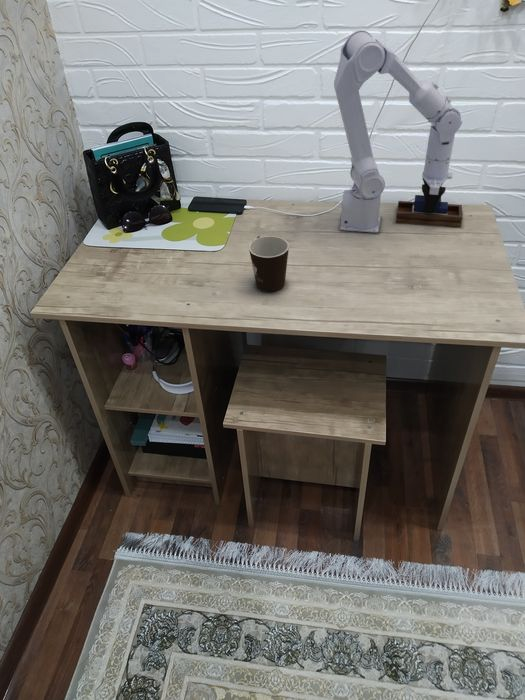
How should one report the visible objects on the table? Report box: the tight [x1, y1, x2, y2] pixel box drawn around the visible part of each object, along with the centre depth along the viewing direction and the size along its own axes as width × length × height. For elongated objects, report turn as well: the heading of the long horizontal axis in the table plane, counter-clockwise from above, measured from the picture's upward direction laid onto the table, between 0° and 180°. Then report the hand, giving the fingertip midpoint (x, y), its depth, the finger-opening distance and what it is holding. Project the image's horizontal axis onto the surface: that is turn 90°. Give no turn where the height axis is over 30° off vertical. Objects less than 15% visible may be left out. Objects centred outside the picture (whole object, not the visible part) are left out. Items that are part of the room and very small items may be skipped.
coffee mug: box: [248, 235, 290, 294], centre depth 127 cm, size 12×9×10 cm
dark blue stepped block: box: [412, 194, 449, 215], centre depth 145 cm, size 9×4×4 cm, turn 77°
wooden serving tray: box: [395, 200, 463, 229], centre depth 147 cm, size 16×8×2 cm, turn 77°
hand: (429, 207), depth 146 cm, fingers closed on dark blue stepped block, 3 cm apart
